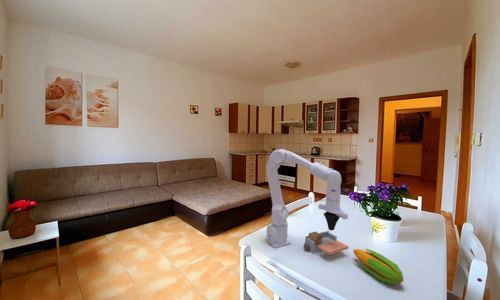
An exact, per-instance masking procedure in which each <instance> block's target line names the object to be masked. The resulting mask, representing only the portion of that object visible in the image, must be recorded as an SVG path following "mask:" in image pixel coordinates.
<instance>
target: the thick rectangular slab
mask: <svg viewBox="0 0 500 300" xmlns="http://www.w3.org/2000/svg"><path fill="white" fill-rule="evenodd" d="M318 248H319V249H320V250H322V251H321V252H324V254H327V255H328V256H330V255H333V254H336V253H339V252H342V251H346V250H348V249H349V245H347V244H344V243H343V242H341V241H339V240H336V241H333V242H329V243H326V244H322V245H318Z"/></svg>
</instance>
